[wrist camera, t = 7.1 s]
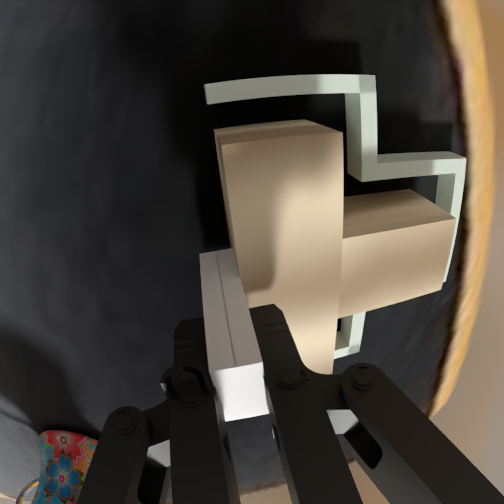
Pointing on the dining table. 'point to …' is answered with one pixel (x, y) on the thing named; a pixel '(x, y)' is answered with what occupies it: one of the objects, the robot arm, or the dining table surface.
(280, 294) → the t block
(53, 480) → the mug
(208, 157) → the dining table surface
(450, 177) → the jig
